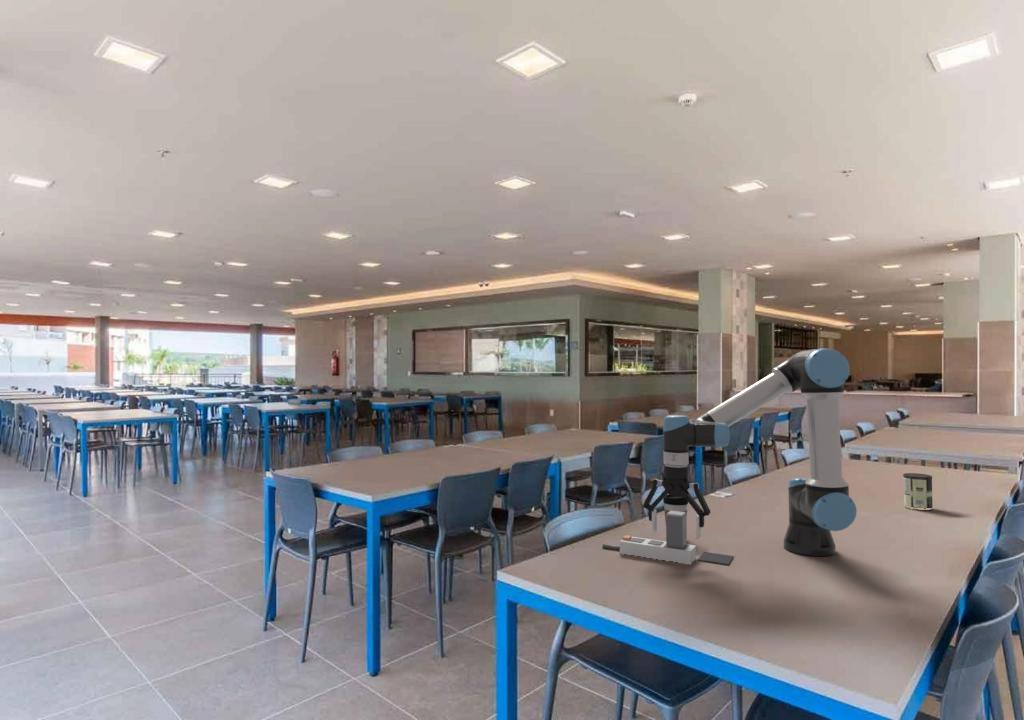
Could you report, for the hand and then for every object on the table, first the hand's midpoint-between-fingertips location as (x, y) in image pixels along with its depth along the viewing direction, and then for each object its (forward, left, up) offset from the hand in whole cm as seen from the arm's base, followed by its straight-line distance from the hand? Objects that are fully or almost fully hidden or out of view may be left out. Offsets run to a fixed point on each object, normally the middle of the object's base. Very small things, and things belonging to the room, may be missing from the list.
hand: (676, 534), depth 182 cm
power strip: (+9, 0, -8) cm, 12 cm away
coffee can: (-72, -120, -8) cm, 140 cm away
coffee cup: (+6, -23, -8) cm, 25 cm away
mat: (-11, -6, -8) cm, 14 cm away
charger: (0, 0, -3) cm, 3 cm away
